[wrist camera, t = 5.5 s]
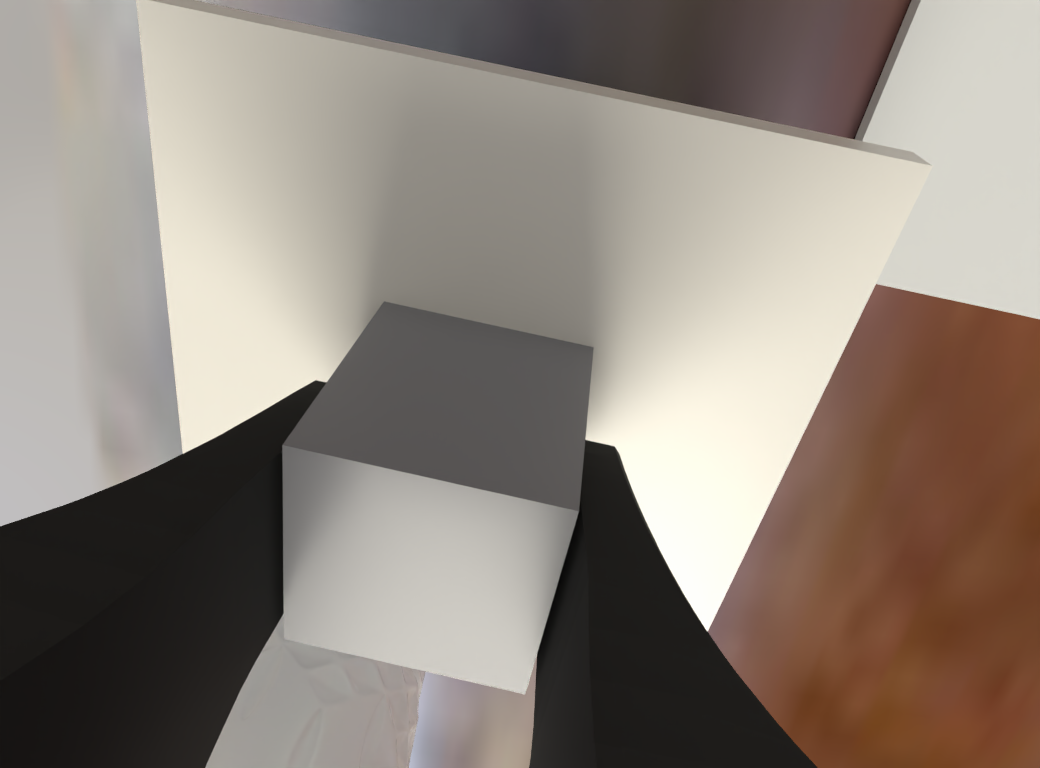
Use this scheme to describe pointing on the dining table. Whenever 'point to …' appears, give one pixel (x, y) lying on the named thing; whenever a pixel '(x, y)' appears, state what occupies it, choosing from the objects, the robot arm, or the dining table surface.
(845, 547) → the dining table surface
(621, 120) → the lid
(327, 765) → the white cup
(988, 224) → the cream square tray
